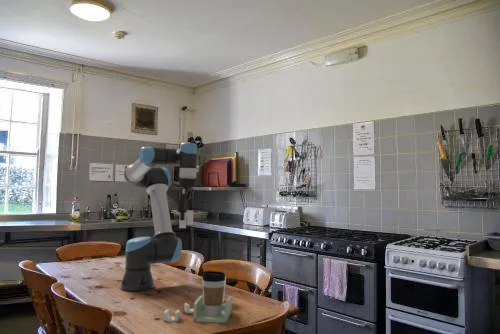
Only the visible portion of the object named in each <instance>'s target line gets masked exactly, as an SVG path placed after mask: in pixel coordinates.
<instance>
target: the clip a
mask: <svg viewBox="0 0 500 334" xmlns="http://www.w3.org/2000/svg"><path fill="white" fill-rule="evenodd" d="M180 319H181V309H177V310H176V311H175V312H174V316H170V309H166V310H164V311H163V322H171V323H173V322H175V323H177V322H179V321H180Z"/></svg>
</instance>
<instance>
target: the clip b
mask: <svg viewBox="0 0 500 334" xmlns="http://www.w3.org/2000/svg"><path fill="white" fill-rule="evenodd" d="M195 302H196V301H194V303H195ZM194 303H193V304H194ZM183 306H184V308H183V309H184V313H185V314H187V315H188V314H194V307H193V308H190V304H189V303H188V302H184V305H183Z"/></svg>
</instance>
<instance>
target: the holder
mask: <svg viewBox="0 0 500 334" xmlns="http://www.w3.org/2000/svg"><path fill="white" fill-rule="evenodd" d="M232 300H233V299H232V295H228V297H227V299H226V301H225V302H224V303H222V311H221V315H218V316H207V315H205V304H204V302H203V294H202V295H200V296H198V297H197V299H196V300H195V301H194V302H195V303H193V308H194V313H192V314H193V319H192V321H193V322H194V323H195V322H196V323H198V322H199V323H221V324H222V323H225V324H226V323H227V324H228V323H229V319H230V316H231V314H232V303H233V302H232Z"/></svg>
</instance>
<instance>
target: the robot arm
mask: <svg viewBox="0 0 500 334" xmlns="http://www.w3.org/2000/svg"><path fill="white" fill-rule="evenodd" d="M138 152H139V153H138V159H137V160H135V162H134V163H131V164H129V165H128V166H127V167H126V168H125V170H124V174H123V175H124V179H125V181H126V182H127V183H128V184H129V185H131V186H132V187H135V188H140V189H141V188H142V189H143V188H144V189H145V192H146V193H147V194H148V195H149V197H150V198H149V199H150V207H151V213H152V220H153V221H152V222H153V228H154V235H153V237H151V236H140V237H138V236H137V237H133V238H131V239H129V240H127V241H126V244H125V263H124V264H125V265H124V267H125V269H124V270H125V271H124V273H123V277H122V280H121V283H120V289H121V290H122V291H126V292H140V291H142V292H143V291H148V290H151V289H153V288H154V287H155V280H154V277H153V273H152V272H151V271H152V270H151V265H153V264H154V265H155V264H156V265H157V264H167V263H174V262H175V263H176V262H178V260H180V257H181V256H182V250H183V246H182V245H183V243H182V239H181V238H180V237H177V235H176V232H174V231H173V228H172V222H171V217H170V216H171V215H170V210H169V204H168V197H167V191H168V189H169V188H170V186H171V179H172V178H171V173H170V171H169V169H168V168H167V167H163V166H157V165H165V166H167V165H168V166H175V167H177V166H178V167H179V173H178V175H179V178H178V186H179V187H180V188H181V189H180V195H179V203H178V209H177V213H179V219H178V220H179V223H178V225H179V226H178V228H179V229H186V228H187V225H188V226H190V225H191V226H192V225H193V226H194V211H196V206H195V195H194V192H195V191H194V190H195V189H194V188H196V187H197V179H196V178H197V173H198V172H199V171H198V170H197V166H198V165H197V164H198V163H197V162H198V145H197V144H196V143H194V142H182V143H180V148H168V147H167V148H166V147H156V146H143V147H141V148H140V150H139V151H138Z"/></svg>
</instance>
